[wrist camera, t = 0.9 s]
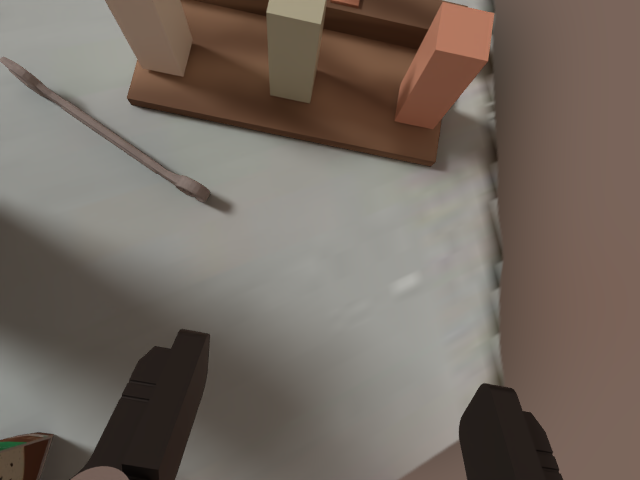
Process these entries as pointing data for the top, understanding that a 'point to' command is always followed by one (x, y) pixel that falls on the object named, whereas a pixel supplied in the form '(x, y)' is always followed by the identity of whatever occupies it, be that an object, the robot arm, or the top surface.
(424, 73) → the terracotta key
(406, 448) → the top surface
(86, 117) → the combination wrench
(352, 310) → the top surface
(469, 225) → the top surface
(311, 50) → the sage key
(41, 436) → the food container
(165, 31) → the tan upright block
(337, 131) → the brown wooden base
